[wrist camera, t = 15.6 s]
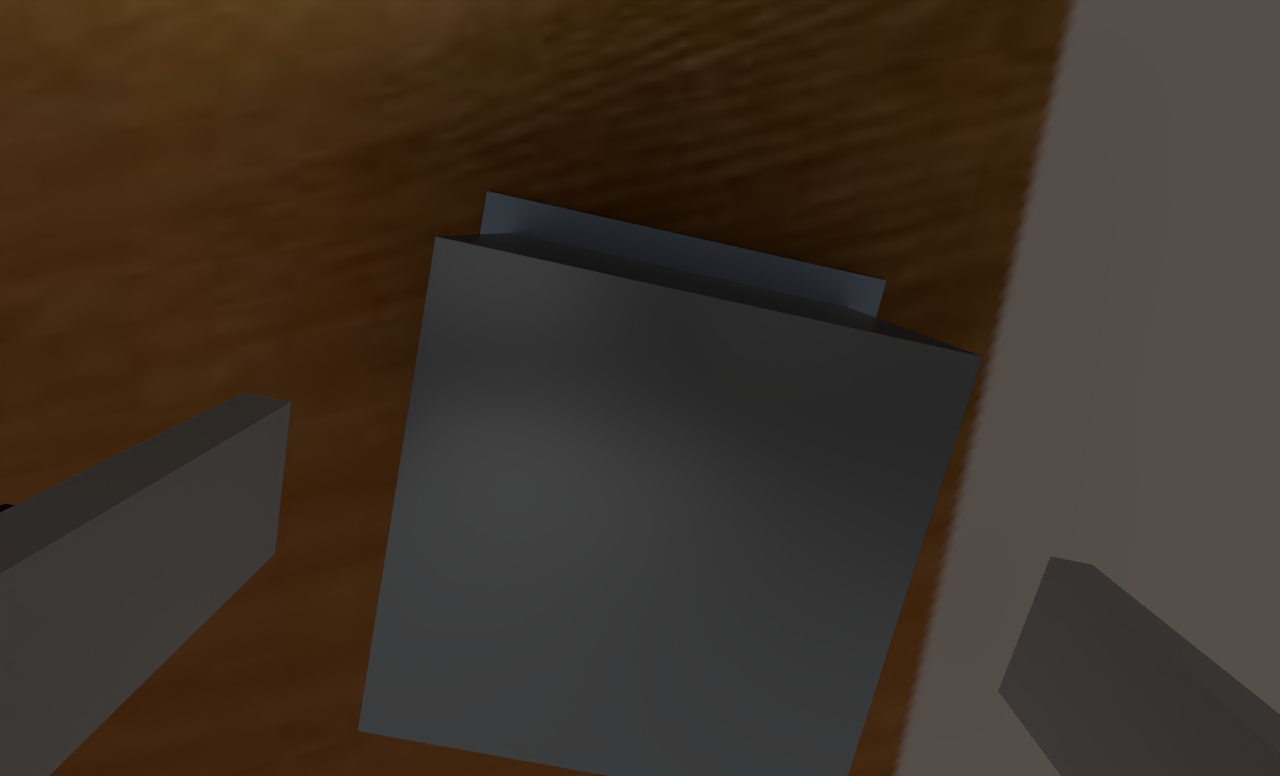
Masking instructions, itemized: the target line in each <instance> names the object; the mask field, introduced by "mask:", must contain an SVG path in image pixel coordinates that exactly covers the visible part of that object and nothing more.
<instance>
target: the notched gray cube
mask: <svg viewBox="0 0 1280 776" xmlns="http://www.w3.org/2000/svg"><path fill="white" fill-rule="evenodd" d="M981 359H982V356H979V355H977V354H974V353H971V352H968V351H966V350H963V349H960V348H958V347H955V346H952V345H949V344H947V343H944V342H941V341H939V340H936V339H933V338H930V337H928V336H925V335H922V334H920V333H917V332H914V331H911V330H909V329H906V328H903V327H901V326H898V325H895V324H893V323H890V322H887V321H884V320H882V319H879V318H876V317H874V316H871V315H868V314H865V313H863V312H860V311H857V310H855V309H852V308H849V307H845V306H841V305H836V304H832V303H827V302H823V301H818V300H814V299H809V298H805V297H800V296H795V295H791V294H786V293H782V292H777V291H773V290H768V289H764V288H759V287H755V286H750V285H746V284H741V283H737V282H732V281H728V280H723V279H719V278H714V277H710V276H705V275H701V274H696V273H692V272H687V271H683V270H678V269H674V268H669V267H665V266H660V265H656V264H651V263H646V262H642V261H637V260H633V259H628V258H624V257H619V256H615V255H610V254H606V253H601V252H597V251H592V250H588V249H583V248H579V247H574V246H570V245H565V244H561V243H556V242H552V241H547V240H543V239H538V238H534V237H529V236H525V235H520V234H516V233H495V234H475V235H455V236H436V238H435V244H434V251H433V257H432V263H431V270H430V276H429V282H428V289H427V295H426V301H425V308H424V314H423V321H422V327H421V333H420V340H419V346H418V352H417V359H416V365H415V371H414V378H413V384H412V390H411V397H410V403H409V409H408V416H407V422H406V429H405V435H404V441H403V448H402V454H401V460H400V467H399V473H398V479H397V486H396V492H395V498H394V505H393V511H392V518H391V524H390V530H389V537H388V543H387V549H386V556H385V562H384V568H383V575H382V581H381V587H380V594H379V600H378V606H377V613H376V619H375V626H374V632H373V638H372V645H371V651H370V657H369V664H368V670H367V676H366V683H365V689H364V695H363V702H362V708H361V714H360V721H359V727H358V731H361V732H366V733H372V734H378V735H383V736H389V737H394V738H400V739H405V740H411V741H417V742H422V743H428V744H433V745H439V746H444V747H450V748H456V749H461V750H467V751H472V752H478V753H483V754H489V755H495V756H500V757H506V758H511V759H517V760H522V761H528V762H534V763H539V764H545V765H550V766H556V767H561V768H567V769H573V770H578V771H584V772H589V773H595V774H601V775H606V776H848V773H849V770H850V767H851V764H852V761H853V758H854V755H855V752H856V749H857V745H858V742H859V739H860V736H861V733H862V730H863V727H864V724H865V721H866V717H867V714H868V711H869V708H870V705H871V702H872V699H873V696H874V692H875V689H876V686H877V683H878V680H879V677H880V674H881V671H882V668H883V664H884V661H885V658H886V655H887V652H888V649H889V646H890V643H891V640H892V636H893V633H894V630H895V627H896V624H897V621H898V618H899V615H900V612H901V608H902V605H903V602H904V599H905V596H906V593H907V590H908V587H909V584H910V580H911V577H912V574H913V571H914V568H915V565H916V562H917V559H918V556H919V552H920V549H921V546H922V543H923V540H924V537H925V534H926V531H927V528H928V524H929V521H930V518H931V515H932V512H933V509H934V506H935V503H936V499H937V496H938V493H939V490H940V487H941V484H942V481H943V478H944V475H945V471H946V468H947V465H948V462H949V459H950V456H951V453H952V450H953V447H954V443H955V440H956V437H957V434H958V431H959V428H960V425H961V422H962V419H963V415H964V412H965V409H966V406H967V403H968V400H969V397H970V394H971V391H972V387H973V384H974V381H975V378H976V375H977V372H978V369H979V366H980V363H981Z"/></svg>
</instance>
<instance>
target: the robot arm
mask: <svg viewBox="0 0 1280 776" xmlns="http://www.w3.org/2000/svg"><path fill="white" fill-rule="evenodd" d="M290 407H291V402H289V401H284V400H279V399H274V398H269V397H264V396H259V395H254V394H249V393H244V392H243V393H241V394H239V395H237V396H235V397H233V398H231V399H229V400H227V401H225V402H223V403H221V404H219V405H217V406H215V407H213V408H211V409H209V410H207V411H205V412H203V413H201V414H199V415H197V416H195V417H193V418H191V419H189V420H187V421H185V422H183V423H181V424H178V425H176V426H174V427H172V428H170V429H168V430H166V431H164V432H162V433H160V434H158V435H156V436H154V437H152V438H150V439H148V440H146V441H144V442H142V443H140V444H138V445H136V446H134V447H132V448H130V449H128V450H126V451H124V452H122V453H120V454H118V455H116V456H114V457H112V458H110V459H108V460H106V461H104V462H102V463H100V464H98V465H96V466H94V467H91V468H89V469H87V470H85V471H83V472H81V473H79V474H77V475H75V476H73V477H71V478H69V479H67V480H65V481H63V482H61V483H59V484H57V485H55V486H53V487H51V488H49V489H47V490H45V491H43V492H41V493H39V494H37V495H35V496H33V497H31V498H29V499H27V500H25V501H23V502H21V503H19V504H17V505H10V504H3V505H0V776H49V775H50V774H51V773H52V772H53V771H54V770H55V769H56V768H57V767H58V766H59V765H60V764H61V763H62V762H63V761H64V760H65V759H67V758H68V757H69V756H70V755H71V754H72V753H73V752H74V751H75V750H76V749H77V748H78V747H79V746H80V745H81V744H82V743H83V742H84V741H85V740H86V739H87V738H88V737H89V736H90V735H91V734H92V733H93V732H94V731H95V730H96V729H97V728H98V727H99V726H100V725H101V724H102V723H103V722H104V721H105V720H106V719H107V718H108V717H109V716H110V715H111V714H112V713H113V712H114V711H115V710H116V709H117V708H118V707H119V706H120V705H121V704H122V703H123V702H124V701H125V700H126V699H127V698H128V697H129V696H130V695H131V694H132V693H133V692H134V691H136V690H137V689H138V688H139V687H140V686H141V685H142V684H143V683H144V682H145V681H146V680H147V679H148V678H149V677H150V676H151V675H152V674H153V673H154V672H155V671H156V670H157V669H158V668H159V667H160V666H161V665H162V664H163V663H164V662H165V661H166V660H167V659H168V658H169V657H170V656H171V655H172V654H173V653H174V652H175V651H176V650H177V649H178V648H179V647H180V646H181V645H182V644H183V643H184V642H185V641H186V640H187V639H188V638H189V637H190V636H191V635H192V634H193V633H194V632H195V631H196V630H197V629H198V628H199V627H200V626H201V625H202V624H204V623H205V622H206V621H207V620H208V619H209V618H210V617H211V616H212V615H213V614H214V613H215V612H216V611H217V610H218V609H219V608H220V607H221V606H222V605H223V604H224V603H225V602H226V601H227V600H228V599H229V598H230V597H231V596H232V595H233V594H234V593H235V592H236V591H237V590H238V589H239V588H240V587H241V586H242V585H243V584H244V583H245V582H246V581H247V580H248V579H249V578H250V577H251V576H252V575H253V574H254V573H255V572H256V571H257V570H258V569H259V568H260V567H261V566H262V565H263V564H264V563H265V562H266V561H267V560H268V559H269V558H270V557H271V556H273V555H274V554H275V548H276V538H277V529H278V519H279V510H280V501H281V491H282V482H283V473H284V463H285V454H286V444H287V435H288V426H289V416H290ZM999 693H1000V694H1001V695H1002V696H1003V698H1004V699H1005V701H1006V702H1007V703H1008V705H1009V706H1010V707H1011V709H1012V710H1013V711H1014V713H1015V714H1016V715H1017V717H1018V718H1019V720H1020V721H1021V722H1022V724H1023V725H1024V726H1025V728H1026V729H1027V730H1028V732H1029V733H1030V734H1031V736H1032V737H1033V738H1034V740H1035V741H1036V742H1037V744H1038V745H1039V747H1040V748H1041V749H1042V751H1043V752H1044V753H1045V755H1046V756H1047V757H1048V759H1049V760H1050V761H1051V763H1052V764H1053V765H1054V767H1055V768H1056V769H1057V771H1058V772H1059V774H1060V775H1061V776H1280V714H1279V713H1277V712H1276V711H1275V710H1274V709H1272V708H1271V707H1270V706H1268V705H1267V704H1266V703H1265V702H1264V701H1262V700H1261V699H1260V698H1259V697H1257V696H1256V695H1255V694H1254V693H1252V692H1251V691H1250V690H1248V689H1247V688H1246V687H1245V686H1243V685H1242V684H1241V683H1240V682H1239V681H1237V680H1236V679H1235V678H1234V677H1232V676H1231V675H1230V674H1228V673H1227V672H1226V671H1225V670H1223V669H1222V668H1221V667H1220V666H1218V665H1217V664H1216V663H1215V662H1213V661H1212V660H1211V659H1210V658H1208V657H1207V656H1206V655H1205V654H1203V653H1202V652H1201V651H1200V650H1198V649H1197V648H1196V647H1195V646H1193V645H1192V644H1191V643H1190V642H1188V641H1187V640H1186V639H1185V638H1183V637H1182V636H1181V635H1180V634H1178V633H1177V632H1175V630H1173V629H1172V628H1171V627H1169V626H1168V625H1167V624H1166V623H1165V622H1163V621H1162V620H1161V619H1160V618H1158V617H1157V616H1156V615H1154V614H1153V613H1152V612H1151V611H1149V610H1148V609H1147V608H1146V607H1144V606H1143V605H1142V604H1140V603H1139V602H1138V601H1137V600H1135V599H1134V598H1133V597H1132V596H1131V595H1129V594H1128V593H1127V592H1126V591H1124V590H1123V589H1122V588H1121V587H1119V586H1118V585H1117V584H1116V583H1114V582H1113V581H1112V580H1111V579H1109V578H1108V577H1107V576H1106V575H1104V574H1103V573H1102V572H1101V571H1099V570H1098V569H1097V568H1096V567H1094V566H1093V565H1090V564H1085V563H1080V562H1075V561H1071V560H1065V559H1061V558H1056V557H1050V560H1049V563H1048V565H1047V568H1046V570H1045V573H1044V575H1043V578H1042V581H1041V583H1040V586H1039V588H1038V591H1037V593H1036V596H1035V599H1034V601H1033V604H1032V606H1031V609H1030V611H1029V614H1028V616H1027V619H1026V622H1025V624H1024V627H1023V630H1022V632H1021V634H1020V637H1019V640H1018V642H1017V645H1016V647H1015V650H1014V652H1013V655H1012V658H1011V660H1010V663H1009V665H1008V668H1007V670H1006V673H1005V676H1004V678H1003V681H1002V683H1001V686H1000V688H999Z"/></svg>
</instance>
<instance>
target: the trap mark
mask: <svg viewBox="0 0 1280 776" xmlns="http://www.w3.org/2000/svg"><path fill="white" fill-rule="evenodd" d="M495 233H516V234H520V235H525V236H529V237H534V238H538V239H543V240H547V241H552V242H556V243H561V244H565V245H570V246H574V247H579V248H583V249H588V250H592V251H597V252H601V253H606V254H610V255H615V256H619V257H624V258H628V259H633V260H637V261H642V262H646V263H651V264H656V265H660V266H665V267H669V268H674V269H678V270H683V271H687V272H692V273H696V274H701V275H705V276H710V277H714V278H719V279H723V280H728V281H732V282H737V283H741V284H746V285H750V286H755V287H759V288H764V289H768V290H773V291H777V292H782V293H786V294H791V295H795V296H800V297H805V298H809V299H814V300H818V301H823V302H827V303H832V304H836V305H841V306H845V307H849V308H852V309H855V310H857V311H860V312H863V313H865V314H868V315H871V316H874V317H876V316H877V312H878V309H879V305H880V302H881V298H882V295H883V292H884V288H885V285H886V280H882V279H877V278H873V277H868V276H864V275H859V274H855V273H851V272H846V271H842V270H837V269H833V268H828V267H824V266H819V265H815V264H810V263H806V262H801V261H797V260H793V259H788V258H784V257H779V256H775V255H770V254H766V253H761V252H757V251H752V250H748V249H744V248H739V247H735V246H730V245H726V244H721V243H717V242H712V241H708V240H703V239H699V238H694V237H690V236H686V235H681V234H677V233H672V232H668V231H663V230H659V229H654V228H650V227H645V226H641V225H637V224H632V223H628V222H623V221H619V220H614V219H610V218H605V217H601V216H596V215H592V214H587V213H583V212H579V211H574V210H570V209H565V208H561V207H556V206H552V205H547V204H543V203H538V202H534V201H530V200H525V199H521V198H516V197H512V196H507V195H503V194H498V193H494V192H489V191H487V195H486V201H485V207H484V213H483V219H482V224H481V230H480V234H495Z"/></svg>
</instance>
